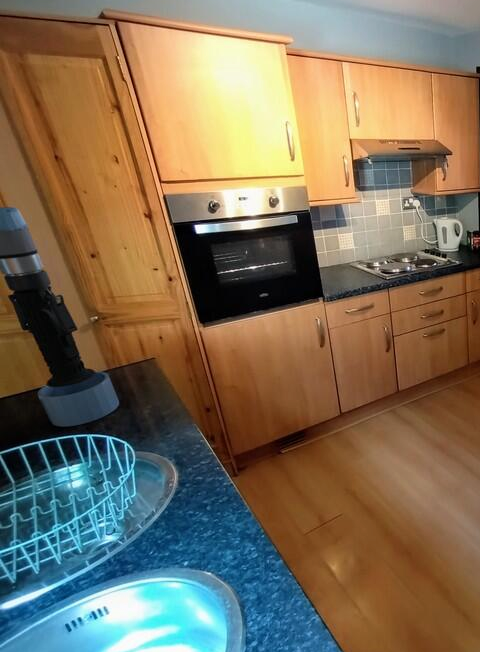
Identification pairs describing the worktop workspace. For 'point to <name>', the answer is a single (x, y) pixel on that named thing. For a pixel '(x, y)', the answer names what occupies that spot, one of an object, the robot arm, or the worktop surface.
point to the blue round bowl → (79, 401)
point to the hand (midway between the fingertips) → (61, 355)
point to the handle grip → (51, 342)
